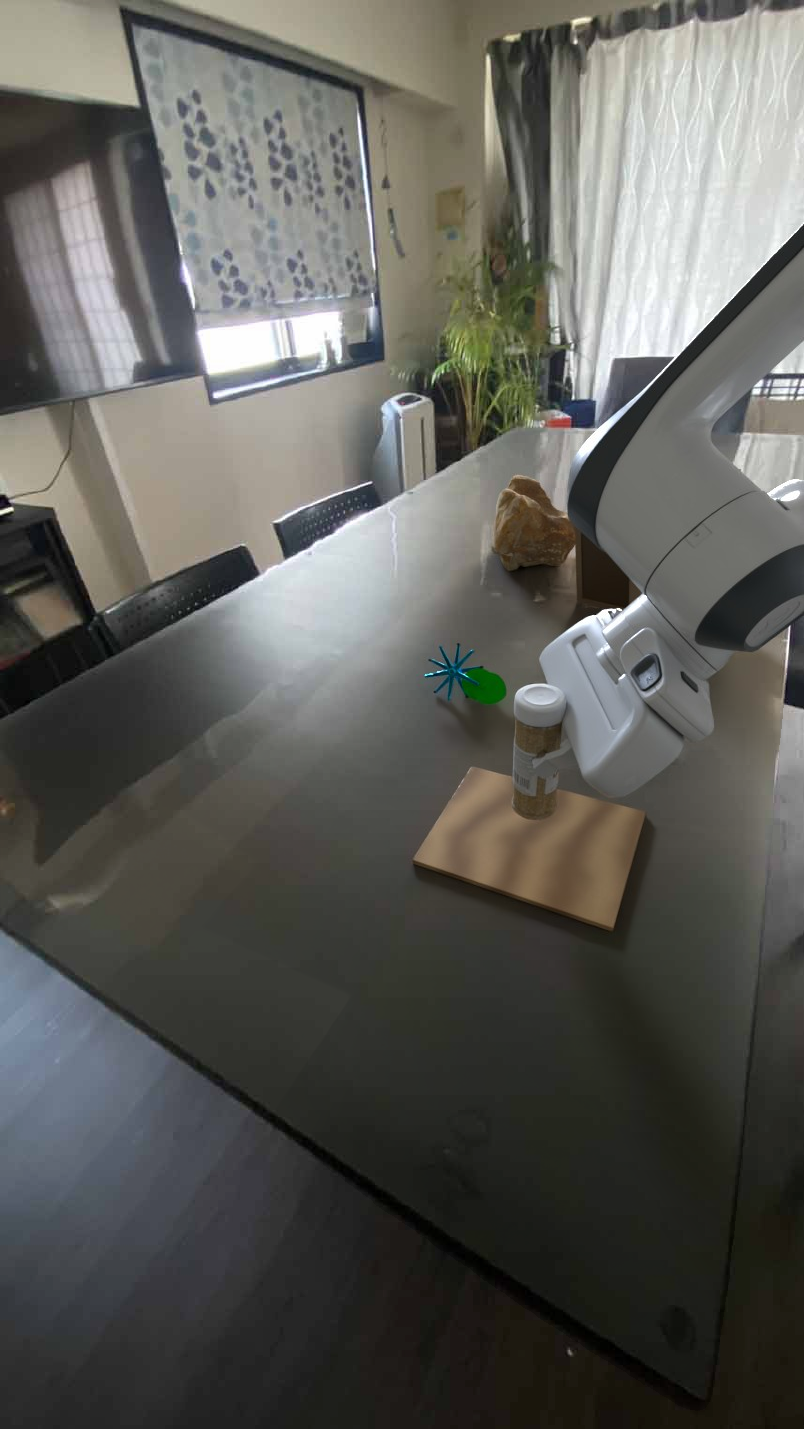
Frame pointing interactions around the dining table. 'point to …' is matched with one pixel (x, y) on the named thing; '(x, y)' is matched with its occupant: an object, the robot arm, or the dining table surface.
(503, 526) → the rough brown rock
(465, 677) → the stick construction toy
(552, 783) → the sprinkles bottle
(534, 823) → the wooden board
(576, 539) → the photo frame
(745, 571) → the robot arm
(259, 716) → the dining table surface
